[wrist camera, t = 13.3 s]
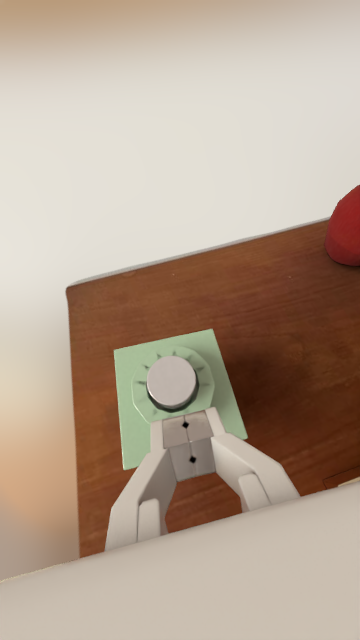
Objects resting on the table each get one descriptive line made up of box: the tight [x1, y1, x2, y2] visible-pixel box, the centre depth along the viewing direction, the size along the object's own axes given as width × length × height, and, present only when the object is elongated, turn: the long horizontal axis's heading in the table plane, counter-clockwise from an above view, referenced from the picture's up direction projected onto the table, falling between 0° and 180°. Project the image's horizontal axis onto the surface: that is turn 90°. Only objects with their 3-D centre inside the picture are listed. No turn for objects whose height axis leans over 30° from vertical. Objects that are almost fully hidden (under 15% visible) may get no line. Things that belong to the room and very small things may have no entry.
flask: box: [114, 329, 248, 470], centre depth 23 cm, size 10×10×14 cm
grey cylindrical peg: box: [147, 356, 196, 409], centre depth 17 cm, size 4×4×2 cm
